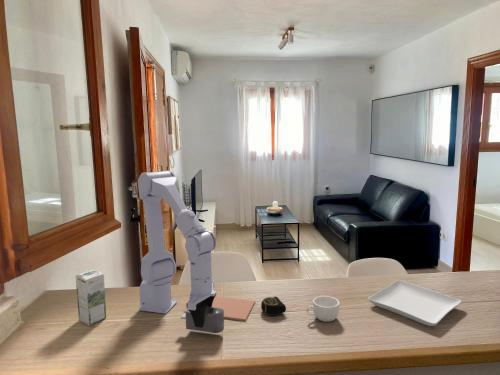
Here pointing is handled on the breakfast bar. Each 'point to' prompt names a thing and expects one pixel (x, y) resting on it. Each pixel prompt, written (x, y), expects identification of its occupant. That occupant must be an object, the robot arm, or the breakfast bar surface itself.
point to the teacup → (325, 308)
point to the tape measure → (272, 306)
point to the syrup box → (91, 297)
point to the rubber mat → (233, 307)
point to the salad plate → (414, 302)
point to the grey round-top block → (207, 320)
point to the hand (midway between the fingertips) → (202, 321)
